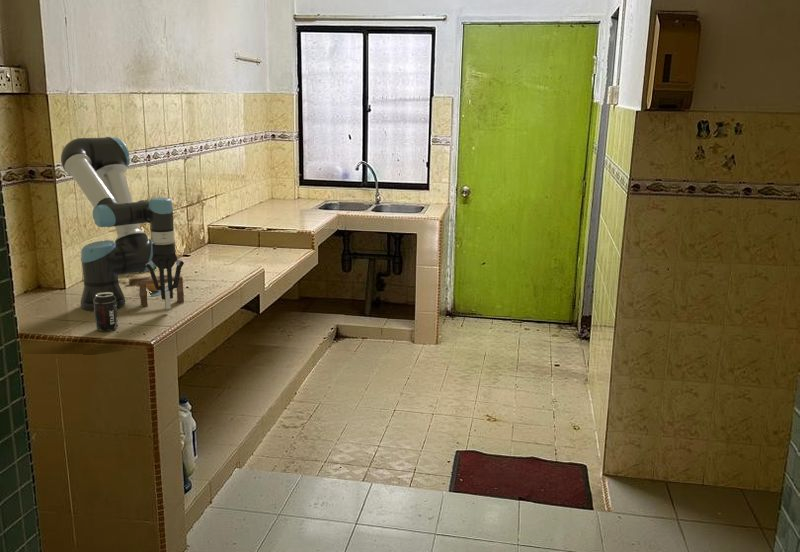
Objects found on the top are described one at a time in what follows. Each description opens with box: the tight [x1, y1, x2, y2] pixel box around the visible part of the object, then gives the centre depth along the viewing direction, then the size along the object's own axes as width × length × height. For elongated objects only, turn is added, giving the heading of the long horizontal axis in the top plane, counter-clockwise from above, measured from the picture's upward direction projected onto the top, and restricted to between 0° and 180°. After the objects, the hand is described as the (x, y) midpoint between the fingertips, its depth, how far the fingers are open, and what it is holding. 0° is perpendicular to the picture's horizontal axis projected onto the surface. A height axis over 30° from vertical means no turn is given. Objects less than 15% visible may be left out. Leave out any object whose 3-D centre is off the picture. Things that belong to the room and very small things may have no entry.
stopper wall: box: [128, 274, 167, 286], centre depth 291 cm, size 16×2×2 cm, turn 117°
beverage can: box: [93, 292, 119, 332], centre depth 230 cm, size 7×7×12 cm
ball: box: [146, 276, 160, 292], centre depth 277 cm, size 6×6×6 cm
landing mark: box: [137, 286, 175, 297], centre depth 277 cm, size 12×12×1 cm
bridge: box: [138, 275, 185, 307], centre depth 260 cm, size 3×15×10 cm, turn 117°
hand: (167, 307), depth 250 cm, fingers closed
